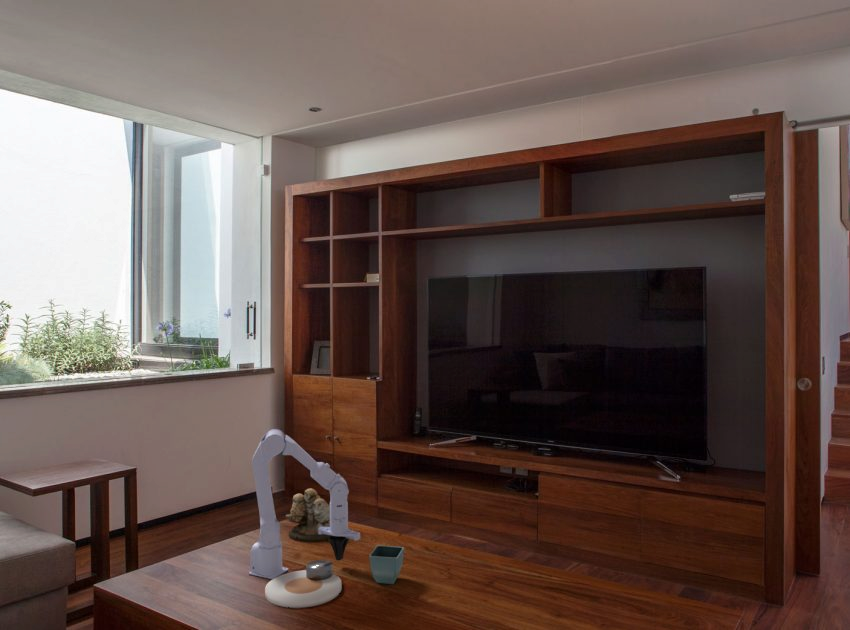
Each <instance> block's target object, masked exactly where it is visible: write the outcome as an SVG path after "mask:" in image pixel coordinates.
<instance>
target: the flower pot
mask: <svg viewBox="0 0 850 630" xmlns="http://www.w3.org/2000/svg"><path fill="white" fill-rule="evenodd" d="M404 551H405V547H402V546H390V545H380V544H378V545H376V546H375V547H374V549H373V550H372V551H371V552H370V554H369V563H370V570H371V574H372V577H373V579H374V580H375V582H376V583H378V584H386V585H387V584H388V585H394V584H395V582H396V580H397V579H398V577H399V575H400V572H401V569H402V567H403V562H404V553H405V552H404Z"/></svg>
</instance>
